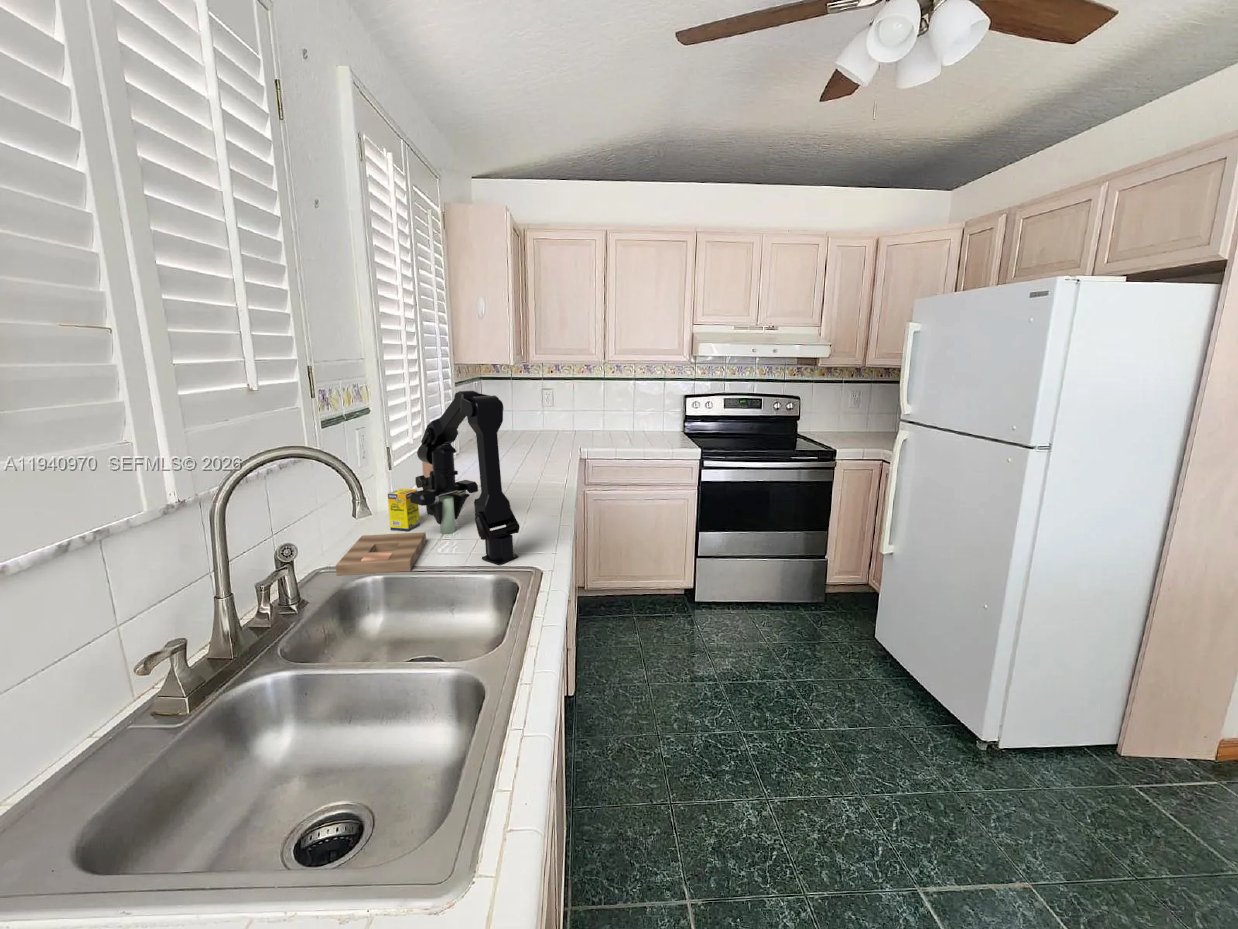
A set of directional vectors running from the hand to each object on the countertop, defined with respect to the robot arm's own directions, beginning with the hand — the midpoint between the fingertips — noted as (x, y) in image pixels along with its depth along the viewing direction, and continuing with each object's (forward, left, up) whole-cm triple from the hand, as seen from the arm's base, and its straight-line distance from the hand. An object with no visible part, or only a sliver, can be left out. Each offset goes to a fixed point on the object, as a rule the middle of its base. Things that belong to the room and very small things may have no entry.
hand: (447, 521), depth 150 cm
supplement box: (+13, +5, -3) cm, 14 cm away
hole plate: (-3, +21, -3) cm, 21 cm away
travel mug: (+18, -10, -3) cm, 21 cm away
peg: (0, 0, -3) cm, 3 cm away
